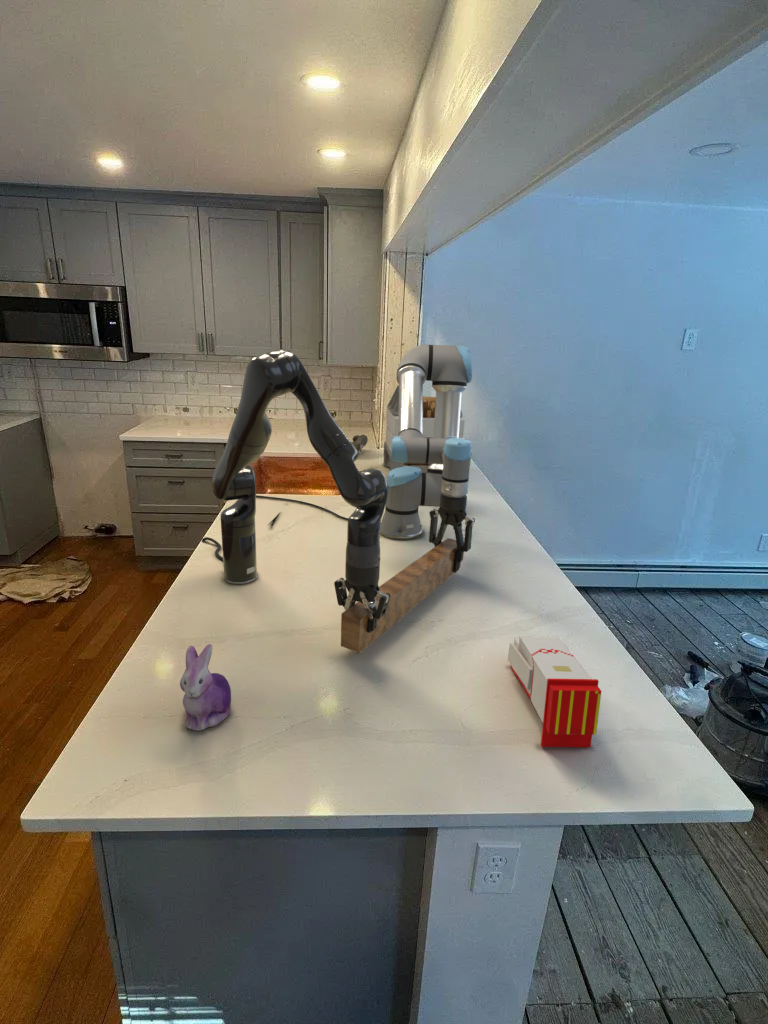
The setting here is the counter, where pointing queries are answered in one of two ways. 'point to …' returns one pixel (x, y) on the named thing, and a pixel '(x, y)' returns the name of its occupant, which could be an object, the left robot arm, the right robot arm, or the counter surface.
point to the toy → (557, 690)
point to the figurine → (204, 691)
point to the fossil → (359, 442)
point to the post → (399, 595)
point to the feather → (273, 520)
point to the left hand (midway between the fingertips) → (360, 627)
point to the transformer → (393, 427)
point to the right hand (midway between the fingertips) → (447, 568)
